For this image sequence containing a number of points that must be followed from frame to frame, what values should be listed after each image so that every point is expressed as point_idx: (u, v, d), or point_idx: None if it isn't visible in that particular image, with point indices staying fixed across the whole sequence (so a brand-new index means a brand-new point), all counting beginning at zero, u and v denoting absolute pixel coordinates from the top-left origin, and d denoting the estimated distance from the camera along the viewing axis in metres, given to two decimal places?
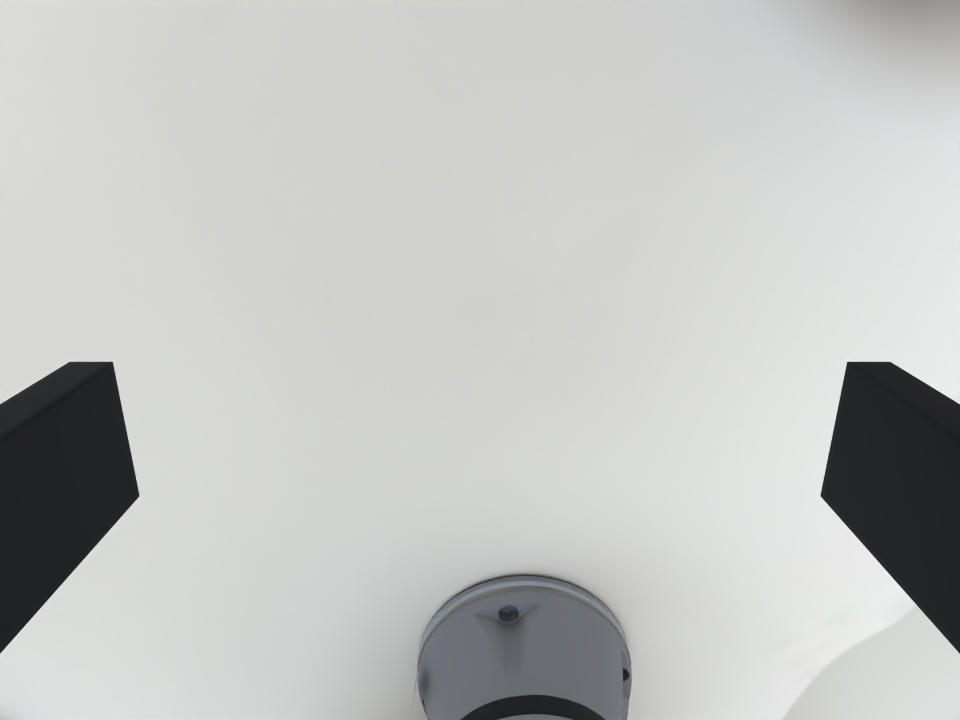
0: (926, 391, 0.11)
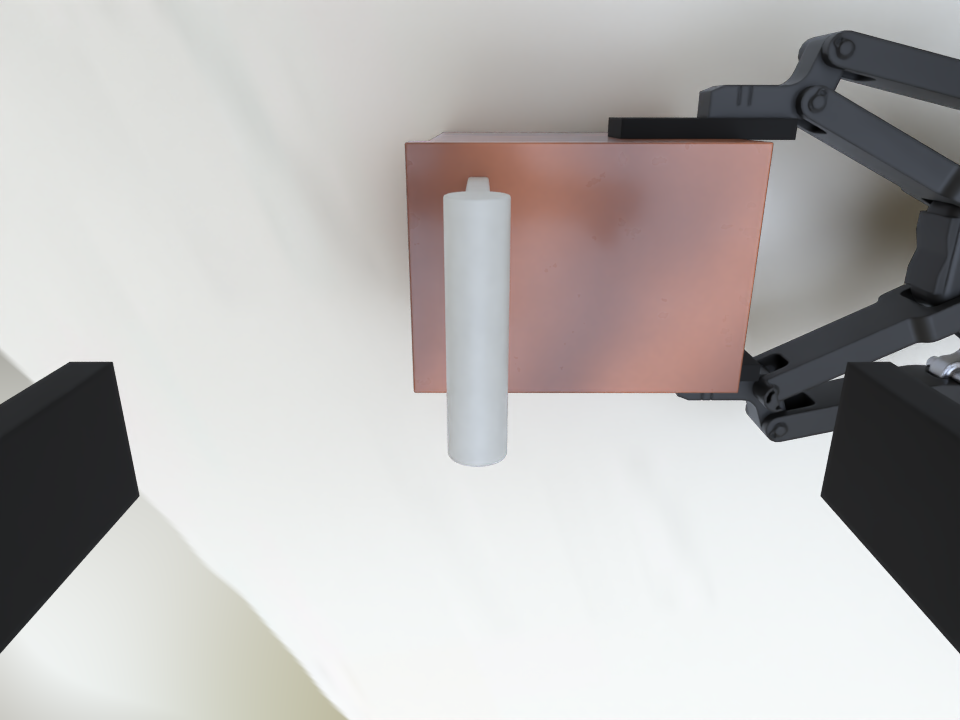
0: (926, 391, 0.11)
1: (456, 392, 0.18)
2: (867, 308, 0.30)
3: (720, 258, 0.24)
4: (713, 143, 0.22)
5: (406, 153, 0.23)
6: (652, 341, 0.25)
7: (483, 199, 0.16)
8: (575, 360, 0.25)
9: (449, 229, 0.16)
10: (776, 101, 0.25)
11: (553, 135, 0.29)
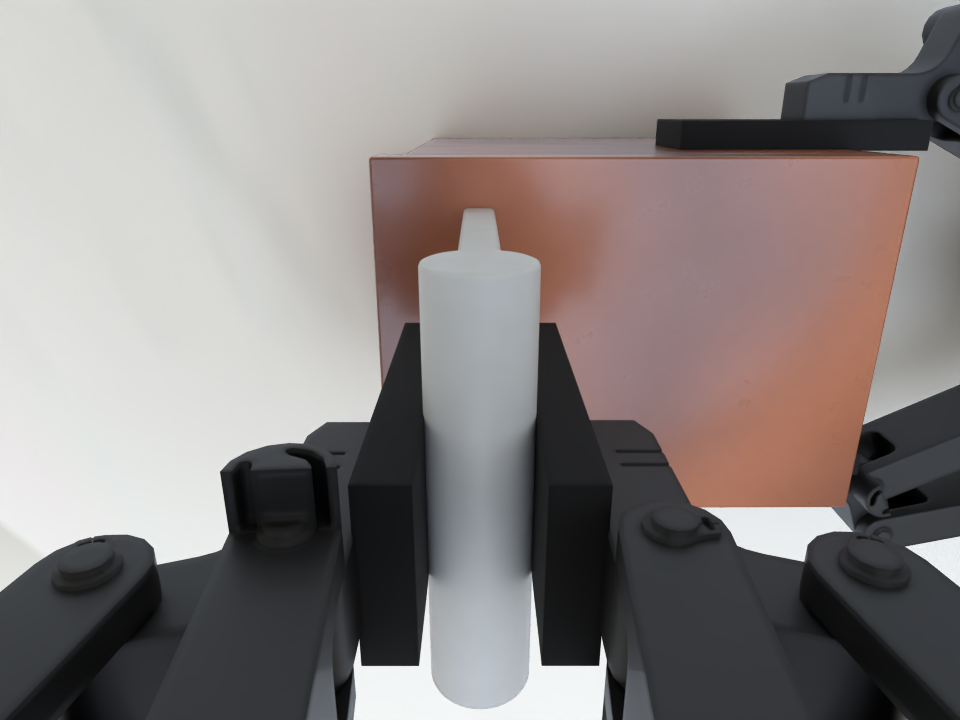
0: (553, 343, 0.13)
1: (444, 593, 0.10)
2: None
3: (831, 324, 0.16)
4: (829, 158, 0.15)
5: (371, 173, 0.15)
6: (726, 438, 0.17)
7: (492, 275, 0.08)
8: None
9: (429, 325, 0.09)
10: (899, 96, 0.18)
11: (580, 143, 0.21)
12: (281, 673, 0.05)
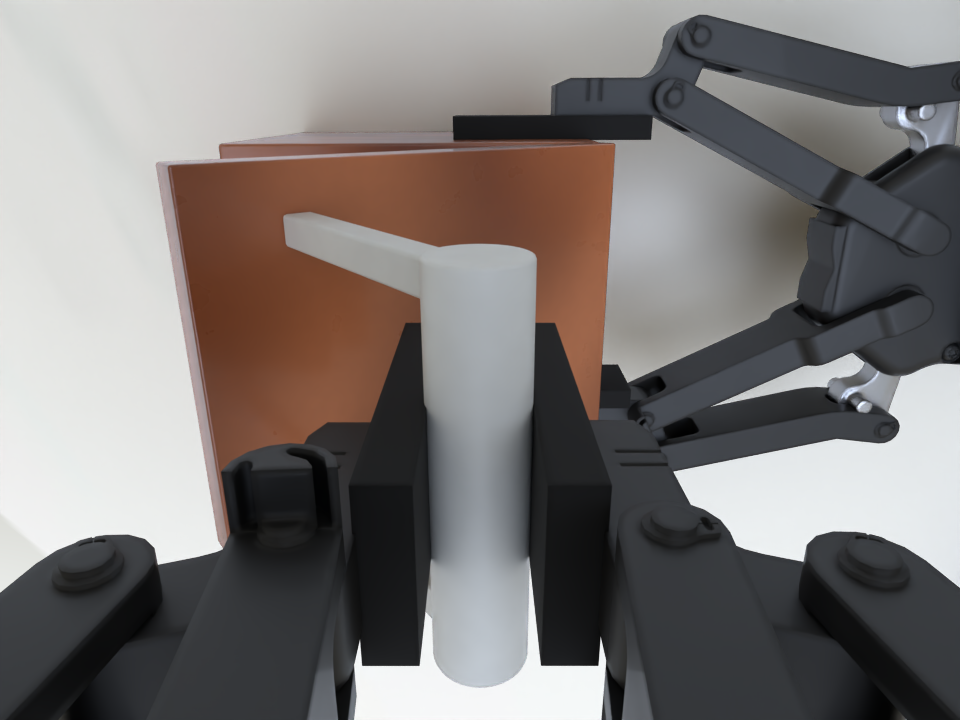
0: (552, 343, 0.13)
1: (474, 584, 0.10)
2: (757, 325, 0.27)
3: (577, 281, 0.20)
4: (564, 147, 0.18)
5: (173, 183, 0.13)
6: None
7: (522, 263, 0.09)
8: None
9: (460, 323, 0.09)
10: (630, 96, 0.22)
11: None
12: (282, 673, 0.05)
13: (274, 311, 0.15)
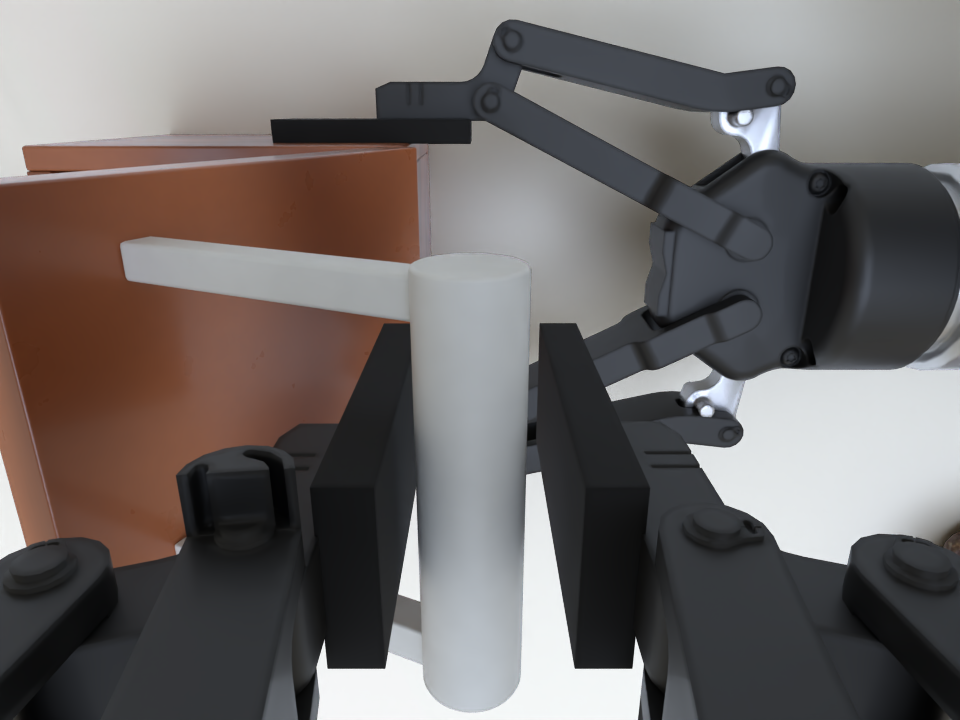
0: (575, 344, 0.13)
1: (491, 603, 0.10)
2: (607, 330, 0.27)
3: None
4: (378, 151, 0.18)
5: None
6: None
7: (528, 268, 0.09)
8: None
9: (481, 337, 0.09)
10: (451, 100, 0.22)
11: (245, 138, 0.26)
12: (237, 675, 0.05)
13: (119, 362, 0.12)
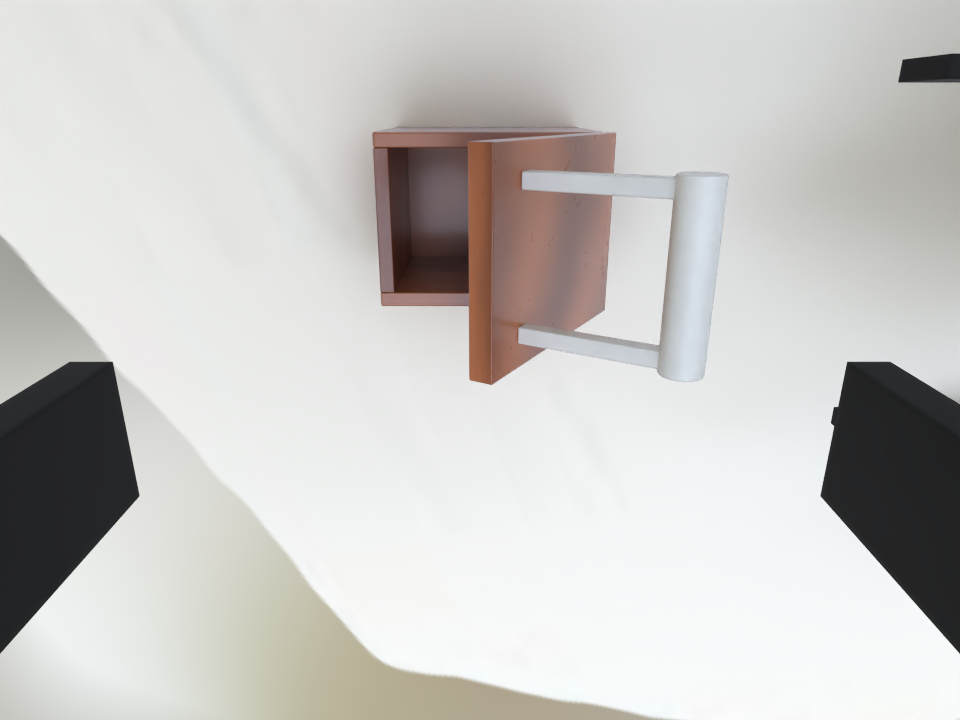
0: (926, 391, 0.11)
1: (699, 325, 0.23)
2: None
3: (602, 216, 0.33)
4: (600, 134, 0.31)
5: (493, 152, 0.23)
6: (582, 285, 0.33)
7: (727, 175, 0.22)
8: (557, 314, 0.31)
9: (710, 200, 0.22)
10: None
11: None
12: None
13: (515, 228, 0.26)
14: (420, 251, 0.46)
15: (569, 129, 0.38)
